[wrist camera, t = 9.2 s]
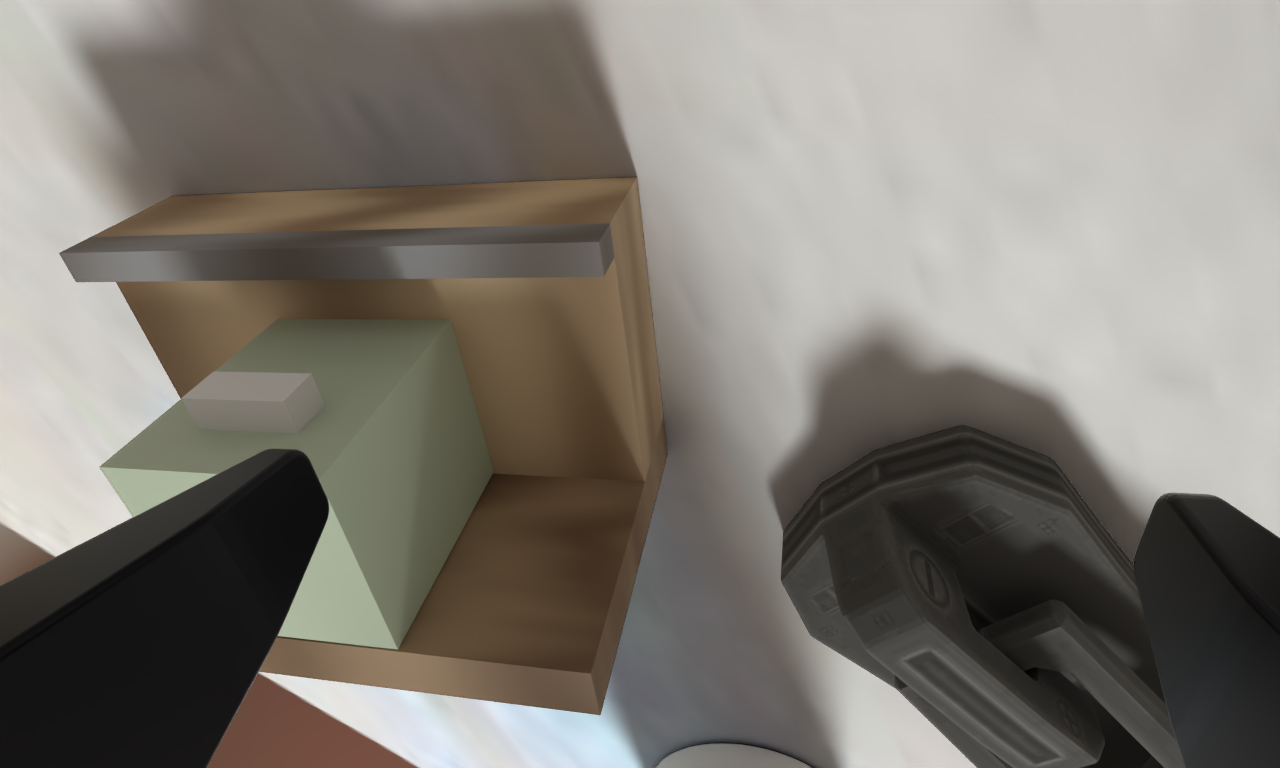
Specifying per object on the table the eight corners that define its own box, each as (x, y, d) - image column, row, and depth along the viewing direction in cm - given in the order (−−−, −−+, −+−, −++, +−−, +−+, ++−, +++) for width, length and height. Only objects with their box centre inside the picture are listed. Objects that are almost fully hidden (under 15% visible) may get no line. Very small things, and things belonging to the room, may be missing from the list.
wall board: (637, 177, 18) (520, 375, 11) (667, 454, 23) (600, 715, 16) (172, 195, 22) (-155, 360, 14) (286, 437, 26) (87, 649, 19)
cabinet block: (442, 291, 18) (303, 445, 13) (493, 471, 21) (397, 649, 16) (265, 292, 19) (77, 435, 14) (340, 463, 22) (207, 628, 17)
